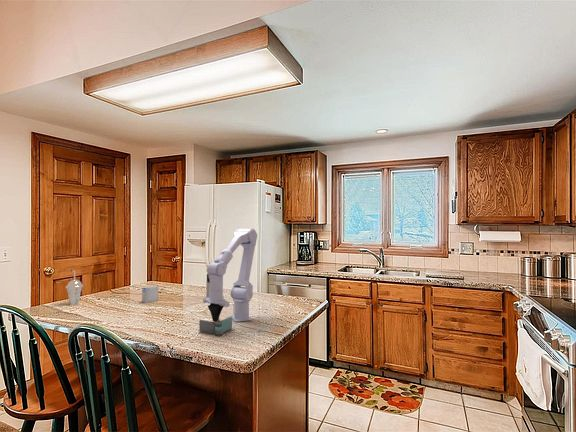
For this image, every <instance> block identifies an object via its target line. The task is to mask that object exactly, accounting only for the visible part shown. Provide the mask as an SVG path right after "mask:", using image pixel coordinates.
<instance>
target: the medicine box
mask: <svg viewBox="0 0 576 432" xmlns="http://www.w3.org/2000/svg"><path fill="white" fill-rule="evenodd" d="M141 293H142V294H141V303H144V304H148V303H153V302H156V301H157V302H158V301H159V286H157V285H150V286H144V287H141Z"/></svg>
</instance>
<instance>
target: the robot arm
mask: <svg viewBox="0 0 576 432" xmlns="http://www.w3.org/2000/svg"><path fill="white" fill-rule="evenodd" d="M257 239H258V233H257V231H256V229H255V228H241V227H240V228H236V229H235V231H234V232H233V238H232V239H231V241H230V242H229V244H228V245H227V247H226V248H225V249H223V250H221V251H220V252H219V254H218V256H217V257H216V258H215V259H214V261H212V262H210V263H209V264H208V266H207V269H206V272H207V274H208V275H209V279H210V290H209V298H207V297H206V296H205V297H203V298H202V303H204V304H205V303H206V304H208V305H207V308H208V310H209V311H210V315H211V318H212V322H215V321H217V320H220V317H221V316H220V315H221V313H222V310H223V308H229V307H230V301H227V300H225V299H223V298H224V297H223V294H224V286H223V285H224V275H225V274H226V273H227V272H226V271H227V268H228V265H229V263H230V262H231V261H232V259H233V258H234V257H233V255H234V252H235V251H236V250H237V249H238V248H239V246H241V247H242V248H243V250H242V255H241V256H242V257H241V263H240V268H239V273H238V279H237V280H236V281H235V282H233V284H232V285H233V286H232V288H231V290H230V297H231V299H232V301H233V312H232V313H233V315H231V316H232V321H234V322H235V323H237V322H246V321H247V322H249V321H252V318H251V317H250V301H251V299H252V298H253V295H254V292H253V289H254V285H253V284H252V283H251V282H250V277H251V272H252V265H253V260H254V253H255V248H256V245H257Z"/></svg>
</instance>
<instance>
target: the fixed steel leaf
mask: <svg viewBox="0 0 576 432" xmlns="http://www.w3.org/2000/svg"><path fill="white" fill-rule="evenodd" d="M198 325H199V327H198V330H199V331H198V332H199V333H202V334H207V335H214V336H215V337H221V336H222V335H223V333H222V331H219V332H217V331H215V326H216V327H220V326H222V321H221V320H220V319H219V320H217V321H215V322H214V321H209V320H204V319H199V324H198Z"/></svg>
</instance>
